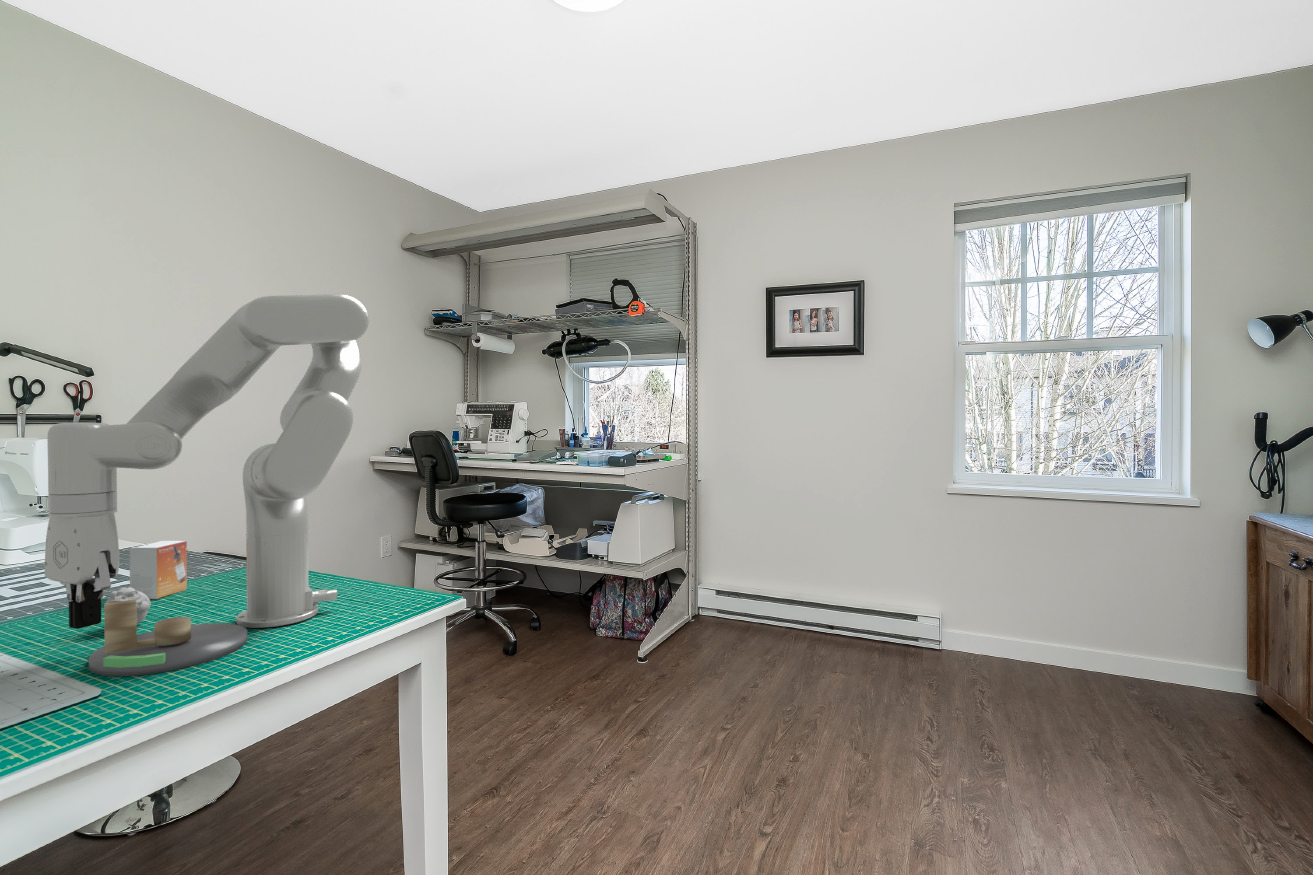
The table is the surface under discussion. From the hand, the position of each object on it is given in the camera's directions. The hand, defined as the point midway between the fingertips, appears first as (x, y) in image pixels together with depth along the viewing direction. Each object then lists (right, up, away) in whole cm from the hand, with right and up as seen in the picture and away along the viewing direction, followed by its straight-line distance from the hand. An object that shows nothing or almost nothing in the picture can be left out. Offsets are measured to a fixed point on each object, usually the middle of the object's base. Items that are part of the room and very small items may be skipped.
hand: (85, 625), depth 91 cm
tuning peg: (+9, -3, 0) cm, 10 cm away
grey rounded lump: (-5, -5, +13) cm, 15 cm away
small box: (-16, -4, +33) cm, 37 cm away
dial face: (+12, -5, +2) cm, 13 cm away
